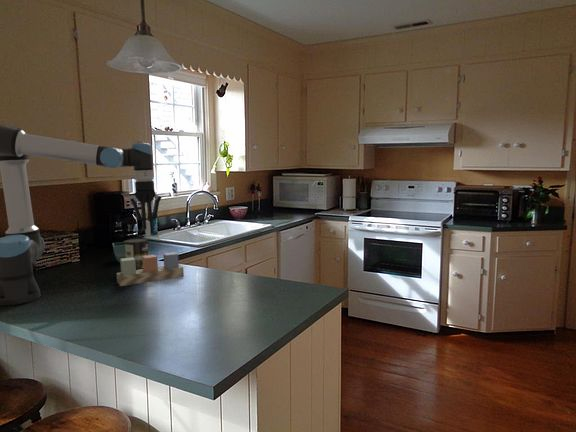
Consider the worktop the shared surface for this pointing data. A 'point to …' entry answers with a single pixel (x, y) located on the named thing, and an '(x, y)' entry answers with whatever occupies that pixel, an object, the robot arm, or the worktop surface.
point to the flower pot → (119, 250)
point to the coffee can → (136, 250)
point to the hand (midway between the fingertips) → (148, 236)
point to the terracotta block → (150, 263)
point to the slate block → (171, 260)
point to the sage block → (128, 266)
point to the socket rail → (149, 276)
